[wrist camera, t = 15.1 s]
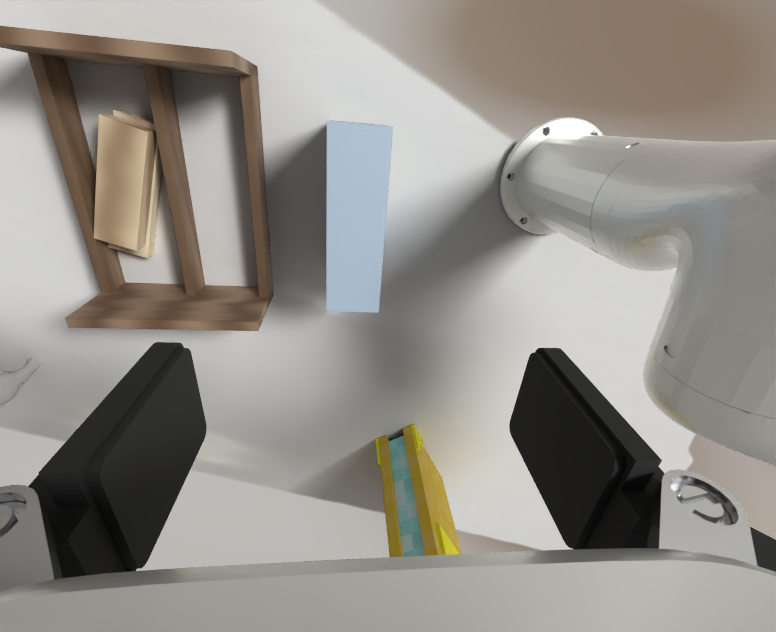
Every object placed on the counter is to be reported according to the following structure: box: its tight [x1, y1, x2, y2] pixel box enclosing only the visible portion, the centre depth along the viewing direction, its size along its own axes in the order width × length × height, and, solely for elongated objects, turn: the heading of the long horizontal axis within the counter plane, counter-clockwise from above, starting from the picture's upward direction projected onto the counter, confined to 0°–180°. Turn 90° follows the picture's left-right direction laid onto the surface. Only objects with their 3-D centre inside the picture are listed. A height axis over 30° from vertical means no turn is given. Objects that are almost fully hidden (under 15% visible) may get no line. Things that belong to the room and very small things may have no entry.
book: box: [375, 424, 462, 557], centre depth 52 cm, size 17×7×25 cm, turn 24°
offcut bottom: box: [108, 110, 162, 258], centre depth 39 cm, size 4×14×2 cm, turn 160°
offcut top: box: [94, 114, 157, 251], centre depth 37 cm, size 4×12×2 cm, turn 159°
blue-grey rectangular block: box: [326, 120, 393, 313], centre depth 37 cm, size 5×16×12 cm, turn 175°
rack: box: [0, 26, 273, 331], centre depth 36 cm, size 18×24×9 cm
